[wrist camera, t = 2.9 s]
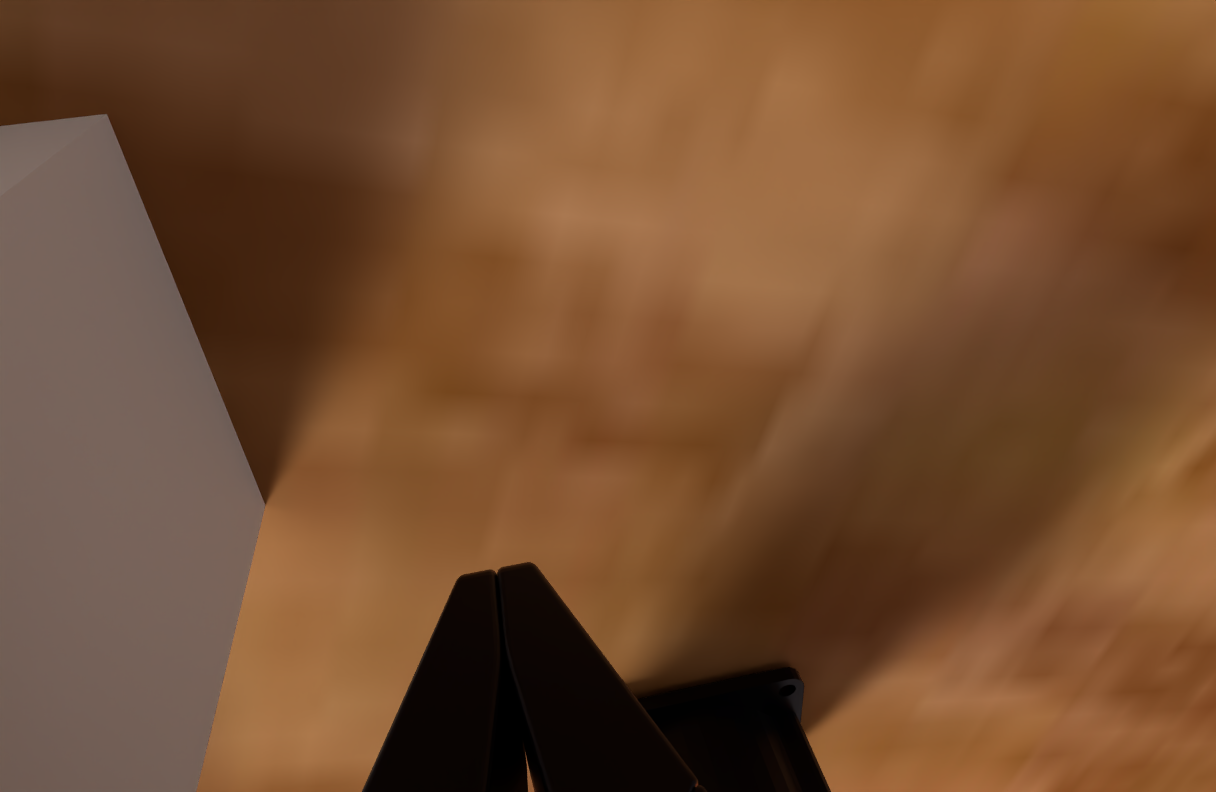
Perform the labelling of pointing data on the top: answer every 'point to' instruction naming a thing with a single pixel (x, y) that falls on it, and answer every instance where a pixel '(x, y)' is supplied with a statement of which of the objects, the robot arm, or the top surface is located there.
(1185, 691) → the top surface
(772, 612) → the top surface
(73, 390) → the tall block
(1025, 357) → the top surface
